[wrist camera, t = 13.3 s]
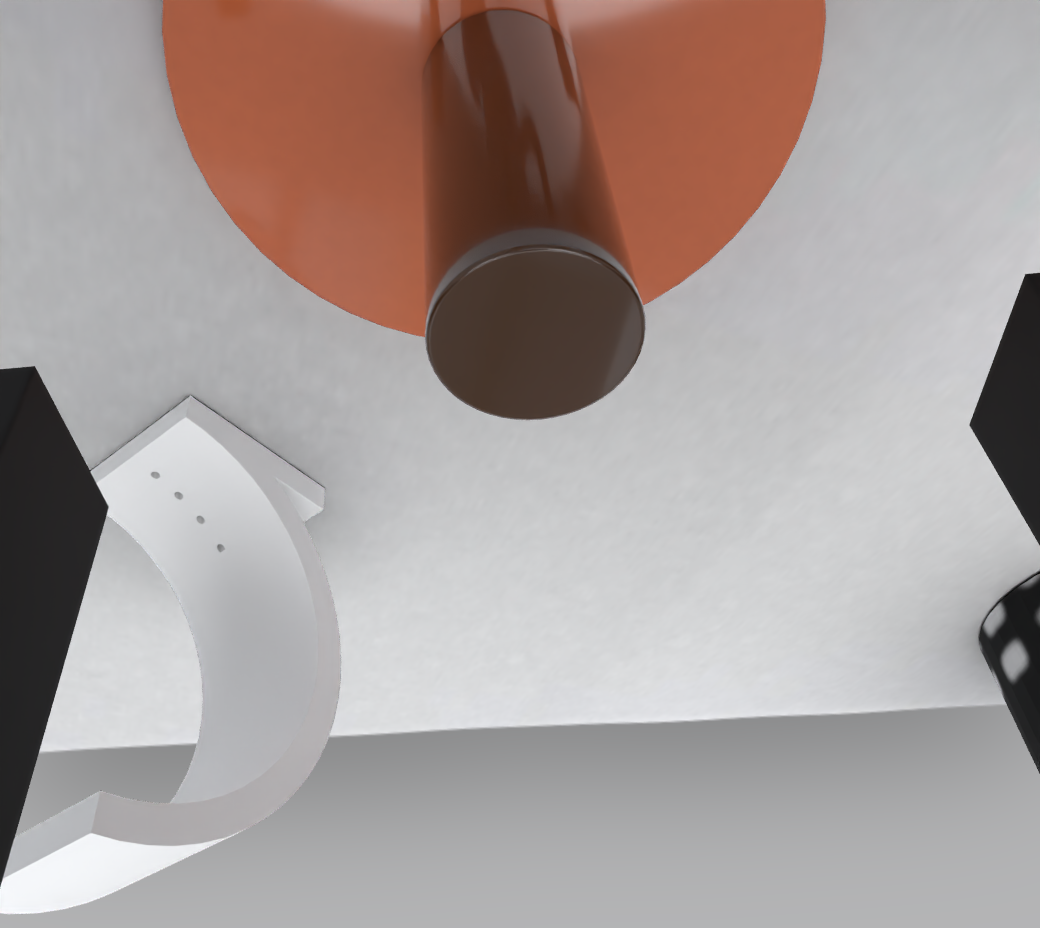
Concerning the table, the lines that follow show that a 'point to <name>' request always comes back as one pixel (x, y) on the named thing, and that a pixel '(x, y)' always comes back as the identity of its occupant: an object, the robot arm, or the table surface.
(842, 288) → the table surface
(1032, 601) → the white-spotted black cylinder
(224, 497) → the headphone stand
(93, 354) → the table surface
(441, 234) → the lid
